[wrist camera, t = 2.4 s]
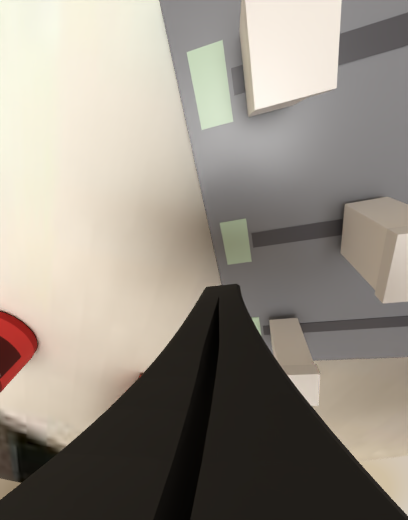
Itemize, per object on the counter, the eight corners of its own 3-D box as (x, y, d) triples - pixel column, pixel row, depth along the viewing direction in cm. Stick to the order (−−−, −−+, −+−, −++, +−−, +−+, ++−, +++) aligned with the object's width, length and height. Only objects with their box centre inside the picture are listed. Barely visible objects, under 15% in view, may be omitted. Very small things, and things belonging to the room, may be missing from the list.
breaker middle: (390, 194, 11) (473, 224, 7) (380, 249, 12) (444, 298, 9) (342, 202, 11) (398, 234, 8) (338, 254, 13) (382, 303, 9)
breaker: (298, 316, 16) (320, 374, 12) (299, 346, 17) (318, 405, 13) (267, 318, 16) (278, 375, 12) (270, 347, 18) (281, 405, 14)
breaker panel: (719, -220, 7) (900, -352, 5) (458, 333, 18) (483, 354, 16) (166, 2, 10) (153, -26, 8) (238, 345, 21) (239, 363, 20)
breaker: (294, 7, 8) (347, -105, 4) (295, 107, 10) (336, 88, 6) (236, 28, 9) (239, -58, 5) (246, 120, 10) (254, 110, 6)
